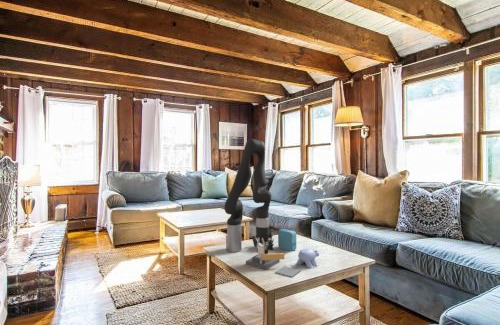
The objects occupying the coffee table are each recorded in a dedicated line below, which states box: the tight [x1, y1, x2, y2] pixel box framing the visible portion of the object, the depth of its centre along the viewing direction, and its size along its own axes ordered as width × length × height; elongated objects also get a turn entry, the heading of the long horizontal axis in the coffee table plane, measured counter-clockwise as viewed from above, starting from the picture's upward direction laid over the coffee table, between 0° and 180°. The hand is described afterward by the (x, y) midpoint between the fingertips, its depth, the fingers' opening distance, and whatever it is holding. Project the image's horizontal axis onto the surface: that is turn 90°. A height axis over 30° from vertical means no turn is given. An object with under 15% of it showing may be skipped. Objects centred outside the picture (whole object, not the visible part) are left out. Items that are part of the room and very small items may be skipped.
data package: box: [277, 228, 297, 252], centre depth 192 cm, size 12×4×12 cm, turn 43°
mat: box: [274, 265, 302, 278], centre depth 153 cm, size 10×10×1 cm
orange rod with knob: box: [259, 252, 285, 260], centre depth 160 cm, size 2×14×3 cm, turn 96°
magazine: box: [262, 225, 274, 251], centre depth 194 cm, size 4×13×15 cm, turn 29°
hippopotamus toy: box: [296, 247, 320, 269], centre depth 165 cm, size 11×15×10 cm
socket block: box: [245, 253, 281, 271], centre depth 166 cm, size 14×14×4 cm
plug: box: [256, 244, 265, 258], centre depth 166 cm, size 6×6×8 cm
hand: (262, 255), depth 166 cm, fingers closed on plug, 4 cm apart
